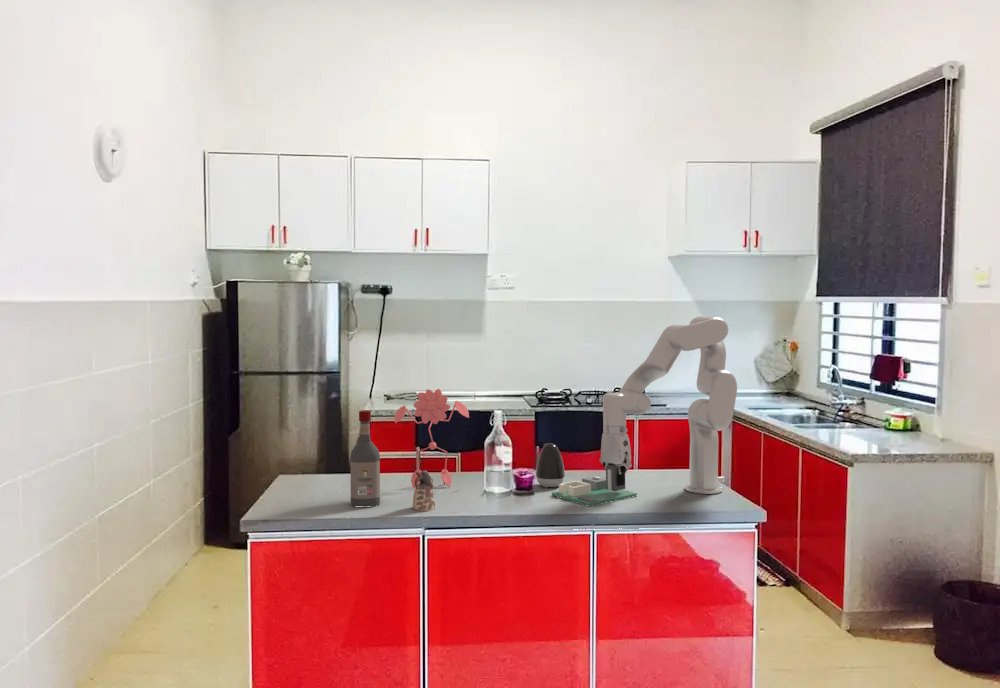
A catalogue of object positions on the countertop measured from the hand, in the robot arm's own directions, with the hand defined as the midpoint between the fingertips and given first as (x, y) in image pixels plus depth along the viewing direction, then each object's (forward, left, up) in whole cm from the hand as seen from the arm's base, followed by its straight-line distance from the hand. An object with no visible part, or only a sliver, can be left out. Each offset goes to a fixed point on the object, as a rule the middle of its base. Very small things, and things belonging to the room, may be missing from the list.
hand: (615, 483), depth 269 cm
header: (+11, -8, -4) cm, 14 cm away
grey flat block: (-1, -10, -3) cm, 11 cm away
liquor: (+72, -41, -4) cm, 83 cm away
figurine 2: (+60, -25, -4) cm, 65 cm away
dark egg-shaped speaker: (+8, -24, -4) cm, 26 cm away
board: (+6, -4, -4) cm, 8 cm away
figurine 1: (+44, -45, -4) cm, 63 cm away
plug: (0, 0, -2) cm, 2 cm away
